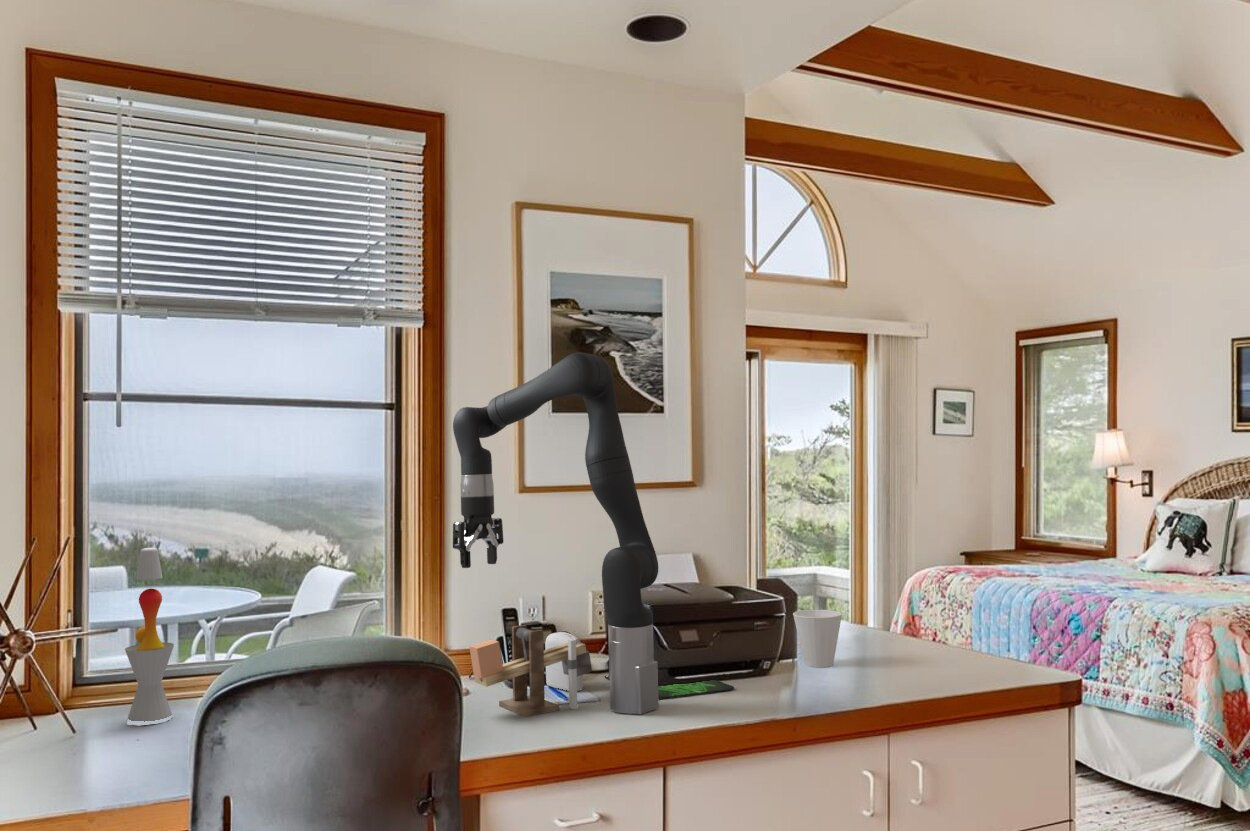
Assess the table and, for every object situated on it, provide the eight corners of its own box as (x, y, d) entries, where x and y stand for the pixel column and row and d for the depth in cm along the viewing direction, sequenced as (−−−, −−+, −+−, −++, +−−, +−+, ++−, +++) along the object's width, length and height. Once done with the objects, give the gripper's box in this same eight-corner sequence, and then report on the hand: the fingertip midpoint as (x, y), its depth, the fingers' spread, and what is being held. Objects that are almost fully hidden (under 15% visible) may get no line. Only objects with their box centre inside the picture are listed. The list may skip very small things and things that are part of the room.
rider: (496, 671, 203) (491, 639, 202) (504, 674, 200) (498, 641, 200) (474, 679, 200) (469, 646, 200) (482, 682, 197) (476, 648, 197)
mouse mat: (600, 677, 233) (600, 673, 233) (684, 668, 241) (684, 663, 241) (646, 703, 208) (646, 698, 208) (738, 692, 216) (738, 687, 216)
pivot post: (532, 699, 212) (531, 622, 212) (559, 710, 203) (557, 629, 203) (499, 705, 207) (497, 627, 208) (524, 716, 198) (523, 634, 199)
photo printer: (543, 685, 224) (542, 631, 225) (558, 682, 227) (557, 628, 227) (569, 693, 216) (568, 637, 217) (585, 690, 219) (584, 634, 219)
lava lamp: (183, 717, 203) (182, 547, 204) (142, 728, 195) (142, 551, 197) (156, 712, 208) (155, 545, 209) (115, 723, 200) (115, 549, 201)
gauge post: (574, 706, 205) (573, 639, 205) (578, 708, 204) (576, 640, 204) (568, 708, 204) (566, 639, 204) (572, 709, 203) (570, 640, 203)
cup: (784, 662, 243) (783, 612, 243) (824, 657, 248) (822, 607, 248) (813, 672, 232) (811, 619, 232) (854, 666, 237) (852, 614, 237)
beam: (579, 667, 216) (570, 611, 215) (593, 671, 211) (585, 615, 210) (478, 702, 201) (468, 643, 201) (491, 708, 197) (481, 647, 196)
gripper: (467, 495, 217) (469, 569, 217) (510, 492, 229) (512, 563, 228) (443, 496, 222) (445, 568, 221) (486, 493, 233) (488, 562, 233)
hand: (479, 565), depth 225 cm, fingers open, 8 cm apart
